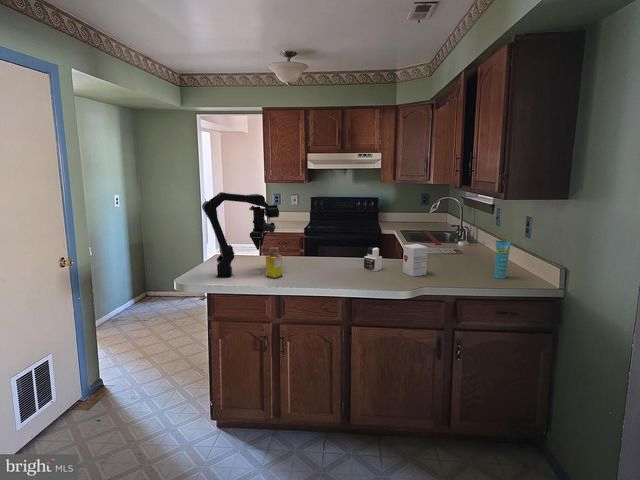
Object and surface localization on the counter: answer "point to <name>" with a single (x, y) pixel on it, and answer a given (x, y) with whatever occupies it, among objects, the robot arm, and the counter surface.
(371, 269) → the medicine bottle
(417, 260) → the supplement box
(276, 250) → the walnut cube
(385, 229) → the counter surface
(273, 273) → the supplement box
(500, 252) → the tube
